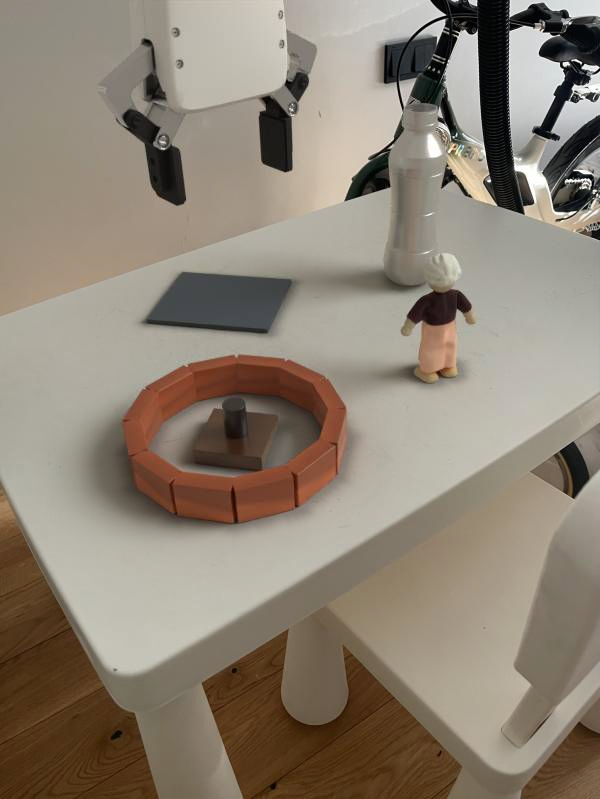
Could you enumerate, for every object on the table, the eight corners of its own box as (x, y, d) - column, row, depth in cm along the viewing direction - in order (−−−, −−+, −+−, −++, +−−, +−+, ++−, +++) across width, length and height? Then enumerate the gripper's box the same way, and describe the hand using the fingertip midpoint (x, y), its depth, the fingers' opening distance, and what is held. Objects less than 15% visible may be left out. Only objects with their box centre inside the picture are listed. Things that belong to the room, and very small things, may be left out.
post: (194, 463, 63) (188, 421, 60) (215, 420, 68) (210, 380, 65) (262, 471, 62) (259, 429, 59) (278, 427, 66) (276, 387, 64)
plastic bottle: (372, 284, 88) (378, 111, 77) (398, 262, 93) (407, 96, 81) (421, 297, 85) (434, 119, 74) (445, 274, 90) (462, 103, 78)
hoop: (94, 505, 59) (86, 473, 57) (173, 376, 74) (169, 347, 72) (322, 535, 56) (322, 503, 54) (358, 394, 70) (358, 364, 68)
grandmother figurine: (449, 353, 76) (461, 237, 68) (474, 370, 73) (490, 252, 65) (389, 376, 73) (394, 258, 65) (413, 395, 70) (422, 274, 62)
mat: (147, 323, 83) (146, 319, 82) (182, 275, 92) (182, 271, 92) (267, 333, 80) (267, 329, 80) (291, 282, 89) (291, 279, 89)
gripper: (274, -100, 52) (284, 146, 62) (42, -84, 43) (98, 200, 53) (347, -99, 47) (345, 168, 57) (103, -81, 38) (151, 230, 48)
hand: (226, 183), depth 55 cm, fingers open, 9 cm apart
